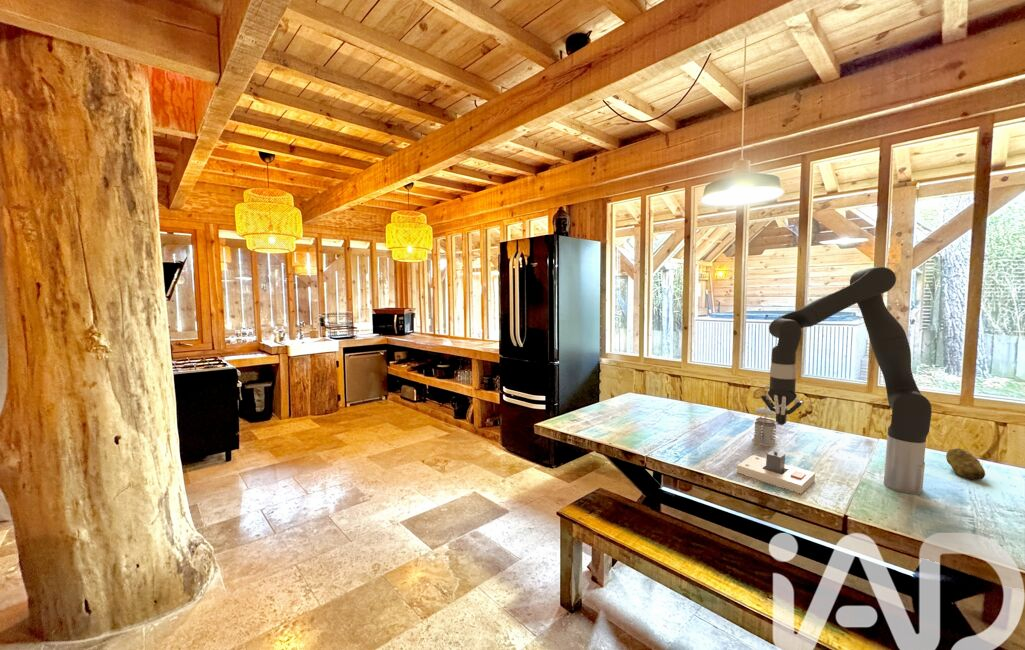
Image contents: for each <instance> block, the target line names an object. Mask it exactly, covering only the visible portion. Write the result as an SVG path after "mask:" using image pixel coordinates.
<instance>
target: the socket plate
mask: <svg viewBox="0 0 1025 650" xmlns="http://www.w3.org/2000/svg"><path fill="white" fill-rule="evenodd" d="M737 472H738V473H741V474H744V475H747V476H749V477H748V478H750V477H752V478H751V479H753V478H755V479H754V480H756V479H758V480H757V481H759V480H761V481H760V482H763V481H764V482H763V483H766V482H767V483H766V484H769V483H770V484H769V485H772V484H773V485H772V486H775V485H777V486H776V487H778V486H780V487H779V488H781V487H783V488H782V489H784V488H786V489H785V490H787V489H789V490H788V491H790V490H791V491H790V492H793V491H795V492H794V493H796V492H797V493H796V494H799V493H800V494H799V495H802V494H803V493H804V492H805V491H806V490H807V489H808V488H809V487H810V486H811V485H812V484H814V482H815V481H816V473H815V472H813V471H810V470H808V469H807V470H806V469H803V468H799V467H796V466H793V465H789V464H786V463H785V467H784V474H782V475H781V474H778V473H775V472H772V471H768V470H766V458H765V457H762V456H758V455H755V454H752V455H751V456H748V458H746V459H744V460H743V461H741V462H740V463H738V464H737V465H736V473H737ZM738 473H737V474H738ZM741 474H740V475H741ZM744 475H743V476H744ZM747 476H746V477H747ZM806 488H807V489H806ZM804 490H805V491H804ZM803 491H804V492H803ZM802 492H803V493H802ZM801 493H802V494H801Z"/></svg>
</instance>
